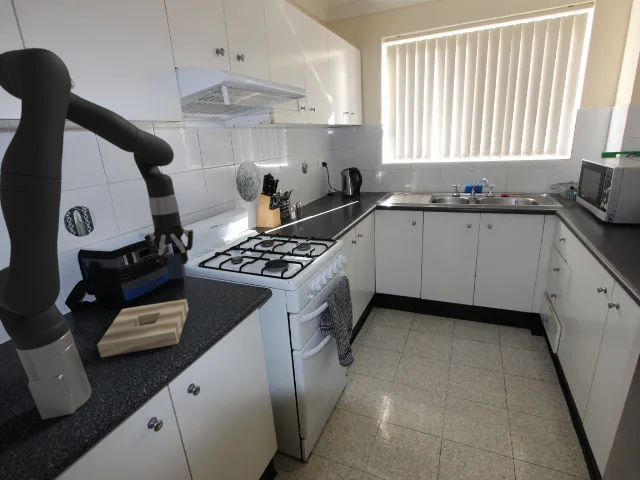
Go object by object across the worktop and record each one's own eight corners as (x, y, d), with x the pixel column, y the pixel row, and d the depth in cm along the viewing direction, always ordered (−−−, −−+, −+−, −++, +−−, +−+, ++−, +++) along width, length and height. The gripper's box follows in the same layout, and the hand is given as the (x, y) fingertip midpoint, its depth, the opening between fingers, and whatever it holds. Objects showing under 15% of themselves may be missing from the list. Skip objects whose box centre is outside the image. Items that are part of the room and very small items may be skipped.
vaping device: (184, 278, 104) (177, 241, 101) (167, 279, 105) (160, 242, 101) (187, 275, 107) (180, 239, 103) (171, 276, 107) (164, 240, 104)
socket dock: (177, 343, 96) (174, 331, 94) (101, 357, 92) (97, 345, 91) (188, 309, 114) (186, 299, 113) (125, 319, 111) (122, 309, 110)
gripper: (134, 216, 95) (147, 271, 100) (188, 210, 97) (197, 265, 102) (142, 210, 102) (154, 263, 107) (192, 206, 104) (201, 257, 109)
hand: (175, 264), depth 104 cm, fingers closed on vaping device, 5 cm apart
